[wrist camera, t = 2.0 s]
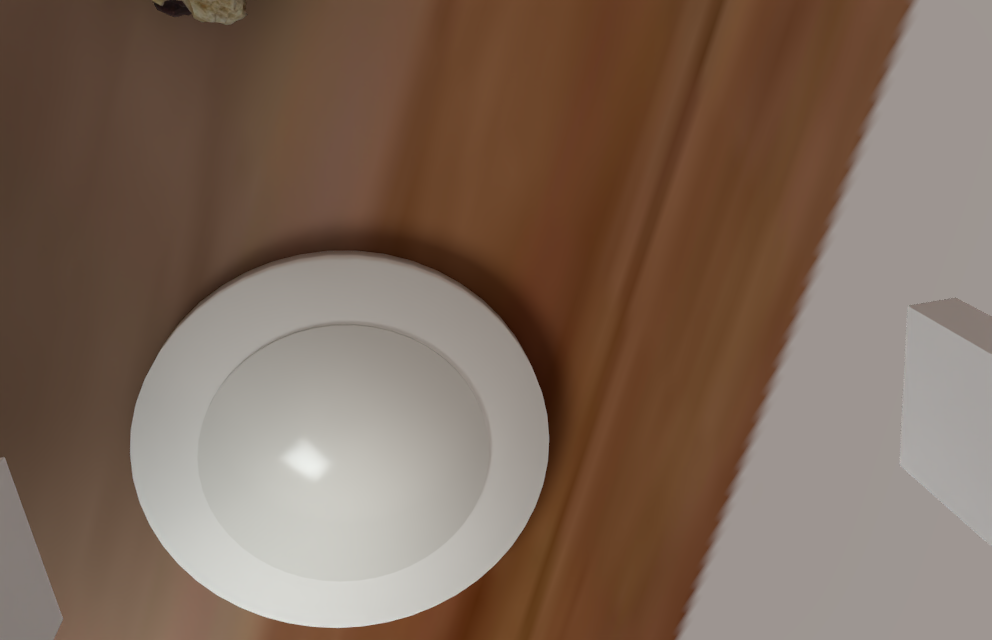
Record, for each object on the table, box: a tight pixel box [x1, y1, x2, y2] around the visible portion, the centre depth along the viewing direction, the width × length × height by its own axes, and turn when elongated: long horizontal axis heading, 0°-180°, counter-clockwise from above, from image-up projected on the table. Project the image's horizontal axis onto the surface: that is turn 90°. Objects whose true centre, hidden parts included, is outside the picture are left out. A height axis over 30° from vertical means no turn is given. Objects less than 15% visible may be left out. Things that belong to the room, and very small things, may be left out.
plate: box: [130, 250, 549, 628], centre depth 33 cm, size 15×15×1 cm
